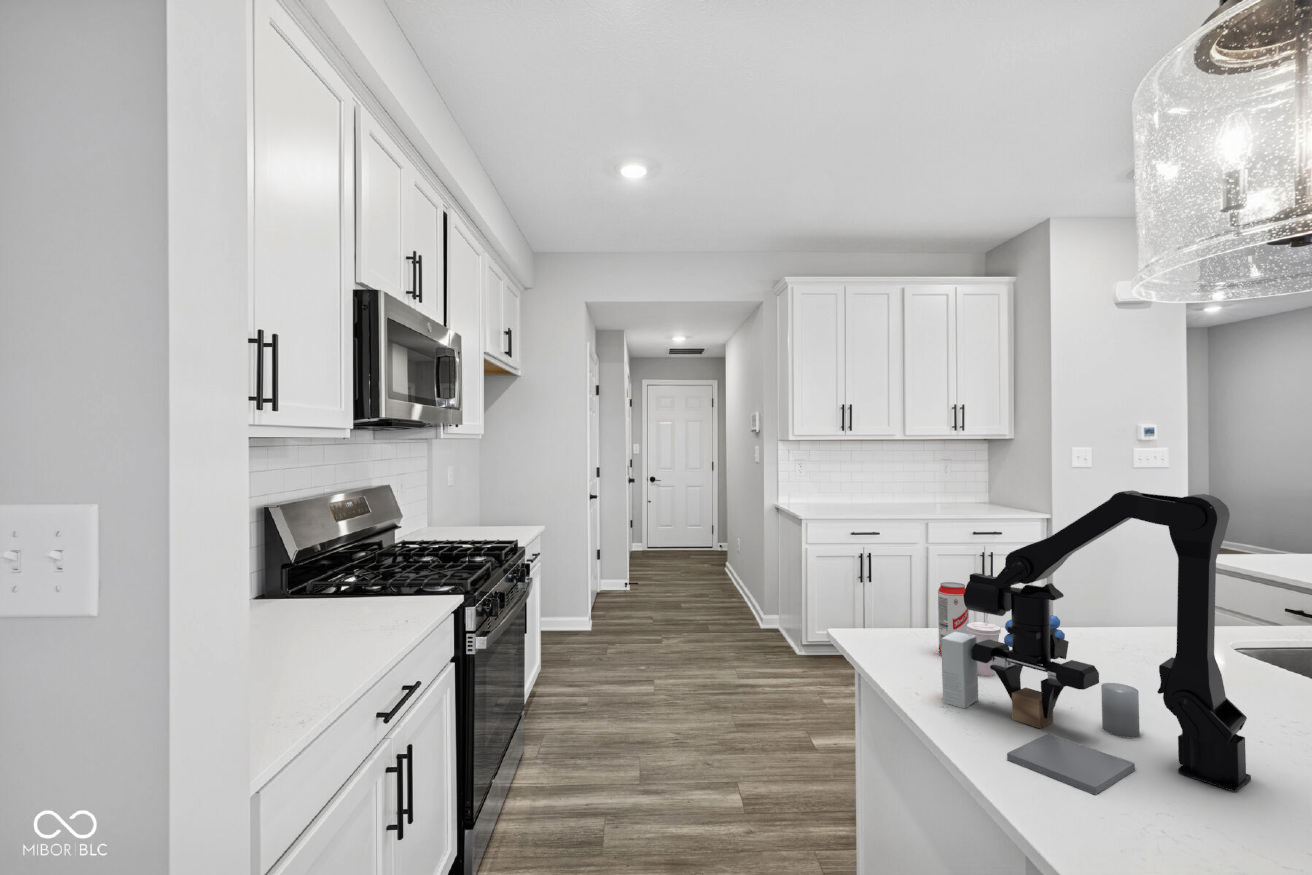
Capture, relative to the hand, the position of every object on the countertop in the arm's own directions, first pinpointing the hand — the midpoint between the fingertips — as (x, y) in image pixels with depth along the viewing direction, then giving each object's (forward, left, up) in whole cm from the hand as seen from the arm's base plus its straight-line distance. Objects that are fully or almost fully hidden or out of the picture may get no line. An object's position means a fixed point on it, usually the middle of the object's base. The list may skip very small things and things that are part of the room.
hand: (1032, 712), depth 111 cm
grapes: (+16, -32, -2) cm, 36 cm away
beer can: (+28, -21, -2) cm, 35 cm away
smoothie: (+18, -16, -2) cm, 24 cm away
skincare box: (+12, +2, -2) cm, 12 cm away
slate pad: (-11, +11, -1) cm, 16 cm away
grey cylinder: (-10, -8, -1) cm, 13 cm away
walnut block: (0, 0, -1) cm, 1 cm away
